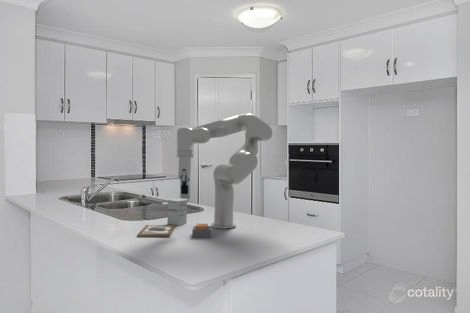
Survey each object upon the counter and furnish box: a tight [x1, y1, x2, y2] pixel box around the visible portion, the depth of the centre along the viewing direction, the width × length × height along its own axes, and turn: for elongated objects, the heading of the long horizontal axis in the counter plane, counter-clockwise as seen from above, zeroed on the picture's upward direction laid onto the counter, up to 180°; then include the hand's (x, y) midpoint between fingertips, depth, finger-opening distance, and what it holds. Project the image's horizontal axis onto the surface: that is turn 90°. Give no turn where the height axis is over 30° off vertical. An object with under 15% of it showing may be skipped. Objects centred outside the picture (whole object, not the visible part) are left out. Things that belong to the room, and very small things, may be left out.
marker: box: [179, 176, 191, 200], centre depth 170 cm, size 4×4×10 cm
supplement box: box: [166, 198, 188, 227], centre depth 188 cm, size 7×7×13 cm
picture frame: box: [136, 224, 176, 238], centre depth 168 cm, size 20×14×1 cm
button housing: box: [191, 225, 212, 239], centre depth 163 cm, size 8×8×4 cm
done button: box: [195, 223, 209, 229], centre depth 163 cm, size 5×5×3 cm
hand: (185, 192), depth 170 cm, fingers closed on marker, 4 cm apart
